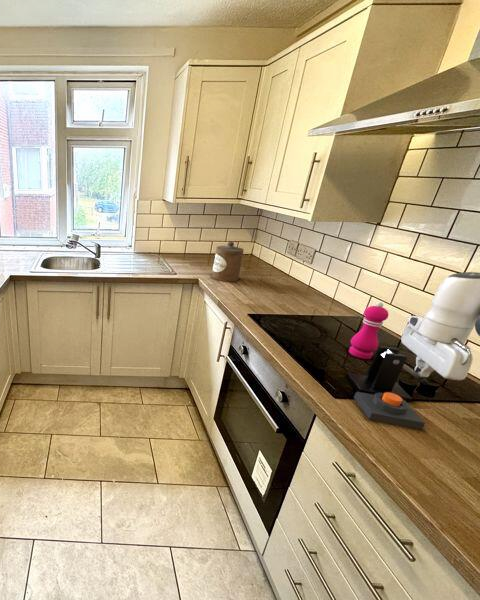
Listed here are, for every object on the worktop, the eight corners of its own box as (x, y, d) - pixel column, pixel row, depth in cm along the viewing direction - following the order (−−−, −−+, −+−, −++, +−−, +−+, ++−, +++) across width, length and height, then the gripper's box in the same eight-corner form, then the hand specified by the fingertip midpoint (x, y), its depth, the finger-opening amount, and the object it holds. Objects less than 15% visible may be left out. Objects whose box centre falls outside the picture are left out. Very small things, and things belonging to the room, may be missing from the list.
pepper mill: (371, 352, 113) (392, 301, 105) (375, 362, 107) (398, 308, 99) (345, 347, 116) (364, 296, 108) (348, 356, 110) (368, 303, 103)
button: (395, 399, 84) (397, 393, 84) (403, 407, 81) (405, 402, 80) (378, 396, 85) (381, 390, 85) (385, 404, 82) (388, 399, 81)
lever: (412, 376, 92) (420, 371, 91) (423, 386, 88) (432, 381, 87) (377, 351, 93) (385, 346, 92) (386, 360, 88) (395, 355, 87)
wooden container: (207, 274, 198) (213, 239, 189) (231, 274, 198) (238, 239, 189) (217, 281, 184) (223, 244, 176) (242, 281, 184) (250, 244, 176)
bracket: (392, 383, 96) (409, 346, 92) (410, 402, 89) (430, 363, 84) (346, 375, 100) (359, 340, 95) (359, 393, 92) (375, 355, 87)
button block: (401, 406, 87) (407, 394, 85) (422, 429, 79) (428, 417, 77) (353, 397, 90) (358, 386, 89) (368, 419, 82) (374, 407, 81)
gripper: (491, 352, 74) (462, 399, 79) (432, 317, 92) (412, 357, 97) (456, 348, 76) (431, 394, 81) (405, 313, 94) (387, 353, 99)
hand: (420, 373), depth 89 cm, fingers closed, pressing on lever
